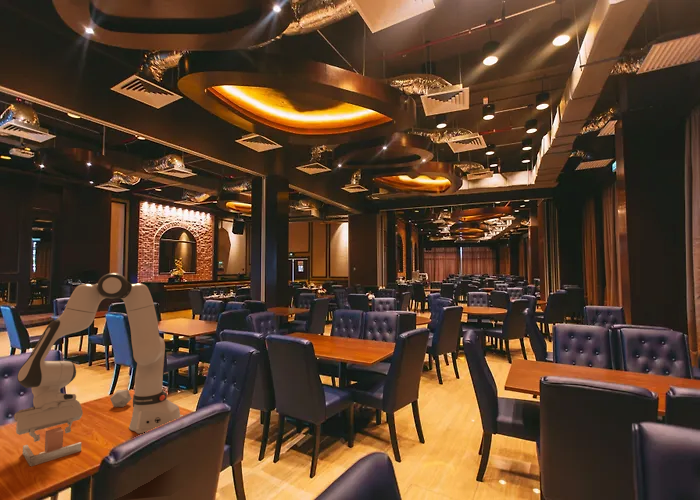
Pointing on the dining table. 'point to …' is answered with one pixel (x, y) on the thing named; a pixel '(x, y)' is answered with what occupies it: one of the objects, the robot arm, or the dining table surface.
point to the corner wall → (49, 454)
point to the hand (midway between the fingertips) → (53, 436)
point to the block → (53, 439)
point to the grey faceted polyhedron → (120, 398)
